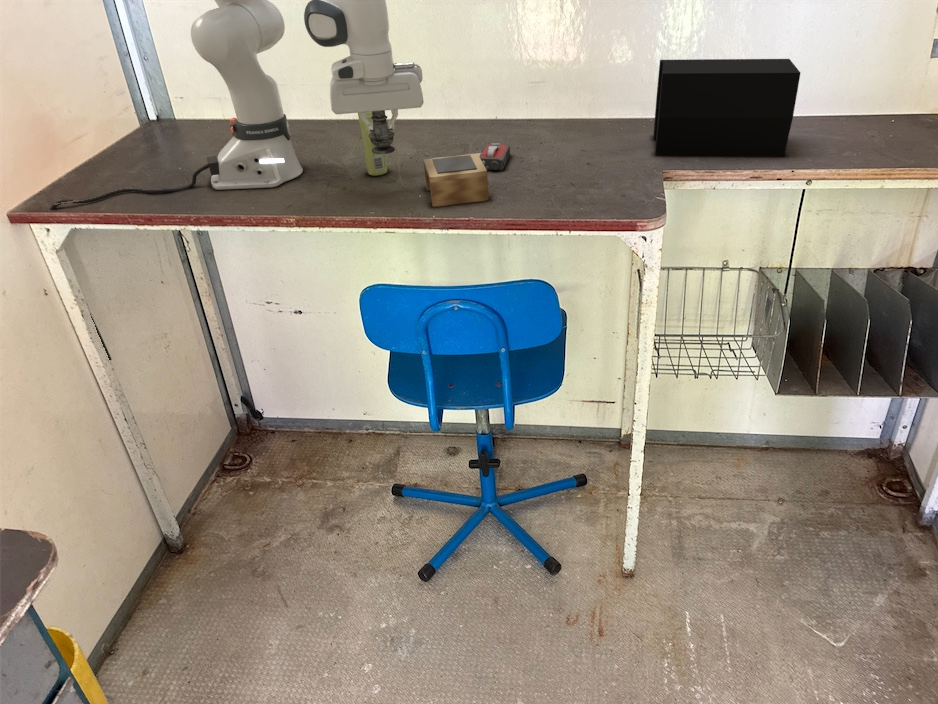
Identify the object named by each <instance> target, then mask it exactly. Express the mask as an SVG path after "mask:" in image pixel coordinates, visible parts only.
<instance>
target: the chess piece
mask: <svg viewBox="0 0 938 704" xmlns="http://www.w3.org/2000/svg"><path fill="white" fill-rule="evenodd" d="M372 115H373V116H372V117H371V119H372V120H373V126H374V132H372V133H370V134H369V135H368V136H369V138H370V140H371V142H372V144H373V145H375V146H376V147H374V148H373V149H372V152H373V153H375V154H385V155H388V154H391V153H394V152H395V151H396V149H395V147H394V146H393V145H392V144H393V142H394V136H395V133H394V132H393V130H388V124H387V121H388V120H387V119H388V116H387V115H386V110H385V111H372Z"/></svg>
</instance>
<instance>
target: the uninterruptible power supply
mask: <svg viewBox="0 0 938 704" xmlns="http://www.w3.org/2000/svg"><path fill="white" fill-rule="evenodd" d="M800 77H801V71H800V70H799V69H798V68H797V67H796V65H795V64H794V62H792V60H791V59H790V58H717V59H715V58H713V59H711V58H710V59H708V58H707V59H703V58H700V59H698V58H697V59H695V58H693V59H659V66H658V77H657V87H656V98H655V111H654V112H655V113H654V125H653V137H652V138H653V141H655V148H654V156H656V157H657V156H659V157H661V156H662V157H665V156H669V157H769V158H770V157H771V158H775V157H777V158H778V157H779V158H782V157H785V153H786V149H787V144H788V141H789V137H790V132H791V128H792V123H793V118H794V114H795V108H796V102H797V98H798V97H797V95H798V91H799V85H800V79H801V78H800Z"/></svg>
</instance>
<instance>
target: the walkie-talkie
mask: <svg viewBox="0 0 938 704" xmlns="http://www.w3.org/2000/svg"><path fill="white" fill-rule="evenodd" d="M477 154H478V155H479V157H480V159H481V161H482V163H483V164H484V166H485V168H486V170H487V171H503V170H504V168H505V167H506V164H507V163H508V160H509V158H510V157H511V146H510V145H509V144H508V143H494V142H492V143H490V142H489V143H488V144H486V145H485V146H484V148H483V149H482V151H481V152H477Z"/></svg>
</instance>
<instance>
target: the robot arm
mask: <svg viewBox="0 0 938 704" xmlns="http://www.w3.org/2000/svg"><path fill="white" fill-rule="evenodd" d="M213 1H214V2H215V3H216V5H217V6H218V7H216V8H212V9H209V10H207V11H205V12H204V13H203V14H201V15H200V16H199V17H197V18H196V19H195V20H194V21H193V22H192V24H191V27H190V38H191V43H192V46H193V47H194V50H195V51H196V52H197V54H198V55H199V56H200V57H201V58H202V59H203V60H204V61H205V62H207V63H209V64H211V65H212V66H213V67H214V68H215V69H216V70H217V72H218V73H219V75H220V76H221V78H222V79H223V81H224V83H225V85H226V87H227V89H228V93H229V96H230V99H231V102H232V105H233V109H234V113H235V116H236V117H231V118H230V120H229V127H230V131H231V135H232V136H233V137H232V138H230V140H229V141H228V142H227V143H226V144H225V145H224V146H223V147H222V148H221V150H220V151H218V155H212V156H207V157H206V161H207V164H205V165H203V166H201V167H199V168H198V169H196V170H195V171H194V172H193V174H192V177H191V182H190V183H189V184H188V185H185V186H183V187H179V188H161V189H162V190H154V189H151V190H142V189H143V188H141V189H124V188H121V189H122V190H119V189H116V190H117V191H114V190H113V191H114V192H111V191H109V192H110V193H108V192H107V193H108V194H105V193H104V194H105V195H103V194H101V195H102V196H100V195H98V196H99V197H97V196H95V197H96V198H93V197H91V198H92V199H89V198H87V199H88V200H84V201H79V202H73V203H72V204H89V203H92V202H93V203H94V202H96V201H100V200H103V199H106V198H108V197H111V196H114V195H118V194H123V193H129V192H132V193H133V192H137V193H145V194H163V193H164V194H165V193H167V194H168V193H169V194H170V193H177V192H181V191H185V190H189V189H192V188H193V187H194V186H195V185H196V183H197V177H198V175H199V174H200V173H202V172H204V171H205V170H208V169H209V172H210V175H211V177H210V178H211V179H210V183H211V184H210V185H211V187H212V188H213V189H215V190H219V191H220V190H221V191H222V190H240V189H241V190H243V189H264V188H265V189H266V188H276V187H278V186H280V185H281V184H283V183H286V182H288V181H291V180H294V179H295V178H298V177H299V176H301V174H303V172H304V169H303V167H302V165H301V163H300V161H299V159H298V157H297V155H296V151H295V150H294V146H293V144H292V140H291V138H292V137H291V136H292V135H291V129H290V125H289V121H288V118H287V115H286V114H285V113H284V110H283V104H282V101H281V95H280V90H279V86H278V83H277V82H276V80H275V79H274V78H273V77H272V76H270V75H268V74H267V73H266V72H265V71H264V70H263V68H262V66H261V64H260V62H259V60H258V56H257V55H258V54H260V53H263V52H266V51H268V50H270V49H271V48H273V47H274V46H275V45H276V44H278V42H280V41H281V39H283V37H284V34H285V29H286V27H285V26H286V25H285V20H284V18H283V15H282V13H281V11H280V10H279V8H278V7H277V6H276V5H275V4H274V3H273V2H272V1H269V0H213ZM387 6H388V5H387V2H386V0H310V1H309V2H307V4H306V6H305V8H304V13H303V21H304V26H305V30H306V32H307V34H308V35H309V37H310V38H311V39H312V41H313V42H315V43H316V44H317V45H319V47H320V46H321V47H324V48H334V47H338V46H341V45H345V46H347V47H348V49H349V56H346V57H343V58H342V59H339V60H336V61H334V62H333V63H332V64H331V67H330V71H331V75H332V77H331V79H330V81H329V82H330V83H329V97H330V100H329V101H330V107H331V111H332V112H333V113H334V115H346V114H358V113H360V117H361V119H362V120H363V121H364V123H365V124H366V125H367V131H368V132H374V128H373V122H369V121H368V120H367V118H366V117H367V114H366V112H372V111H385V112H386V111H390V112H391V118H390V119H388V120H386V121H387V127H388V130H389V131H395V130H396V128H395V127H396V126H395V122H396V120H397V118H398V116H399V110H407V109H408V110H409V109H420V108H422V106H424V103H425V102H424V94H423V90H422V85H421V83H422V81H423V70H422V68H421V66H420V65H419V64H416V63H415V62H414V61H413V62H412V61H410V62H395V63H394V57H393V49H392V48H393V47H392V44H391V43H390V42H391V41H390V37H389V33H390V22H389V21H390V20H389V13H388V7H387ZM73 200H75V199H70V198H69V199H66V198H65V199H60V200H57V201H55V202H54V203H61V202H67V201H73ZM60 205H61V204H58V205H53V204H51V206H50V207H49V211H54V210H55V209H56V208H57V207H59V206H60ZM90 315H91V318H92V320H93V322H94V324H95V327H96V330H97V333H98V335H99V337H100V339H101V342H102V344H103V347H104V348H105V351H106V353H107V355H108V358H109V360H110V361H112V357H111V354H110V352H109V349H108V348H107V347H108V346H107V345H106V343H105V341H104V339H103V337H102V334H101V332H100V330H99V328H98V326H97V324H96V322H95V320H94V318H93V315H92V314H91V313H90ZM103 347H102V348H103ZM109 360H108V361H109Z"/></svg>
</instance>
